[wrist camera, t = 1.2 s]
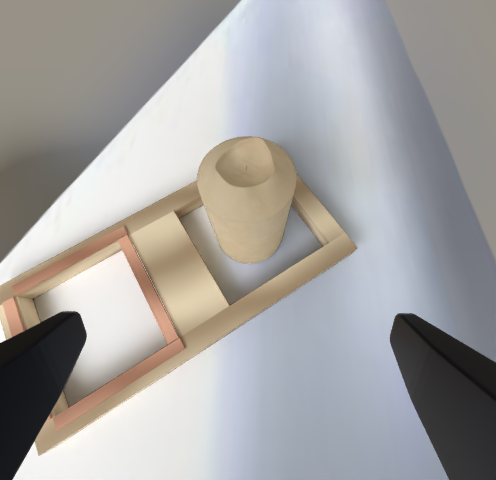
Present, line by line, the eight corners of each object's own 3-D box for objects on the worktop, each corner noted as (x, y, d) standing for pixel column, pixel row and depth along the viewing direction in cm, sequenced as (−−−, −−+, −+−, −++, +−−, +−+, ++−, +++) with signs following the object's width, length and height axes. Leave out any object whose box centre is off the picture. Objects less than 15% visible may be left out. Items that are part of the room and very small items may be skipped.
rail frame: (351, 254, 22) (358, 247, 21) (55, 446, 18) (36, 456, 16) (269, 152, 26) (270, 139, 24) (8, 293, 22) (-11, 289, 20)
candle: (241, 193, 24) (232, 101, 15) (294, 224, 23) (320, 146, 14) (204, 242, 23) (168, 173, 13) (259, 277, 22) (262, 230, 12)
